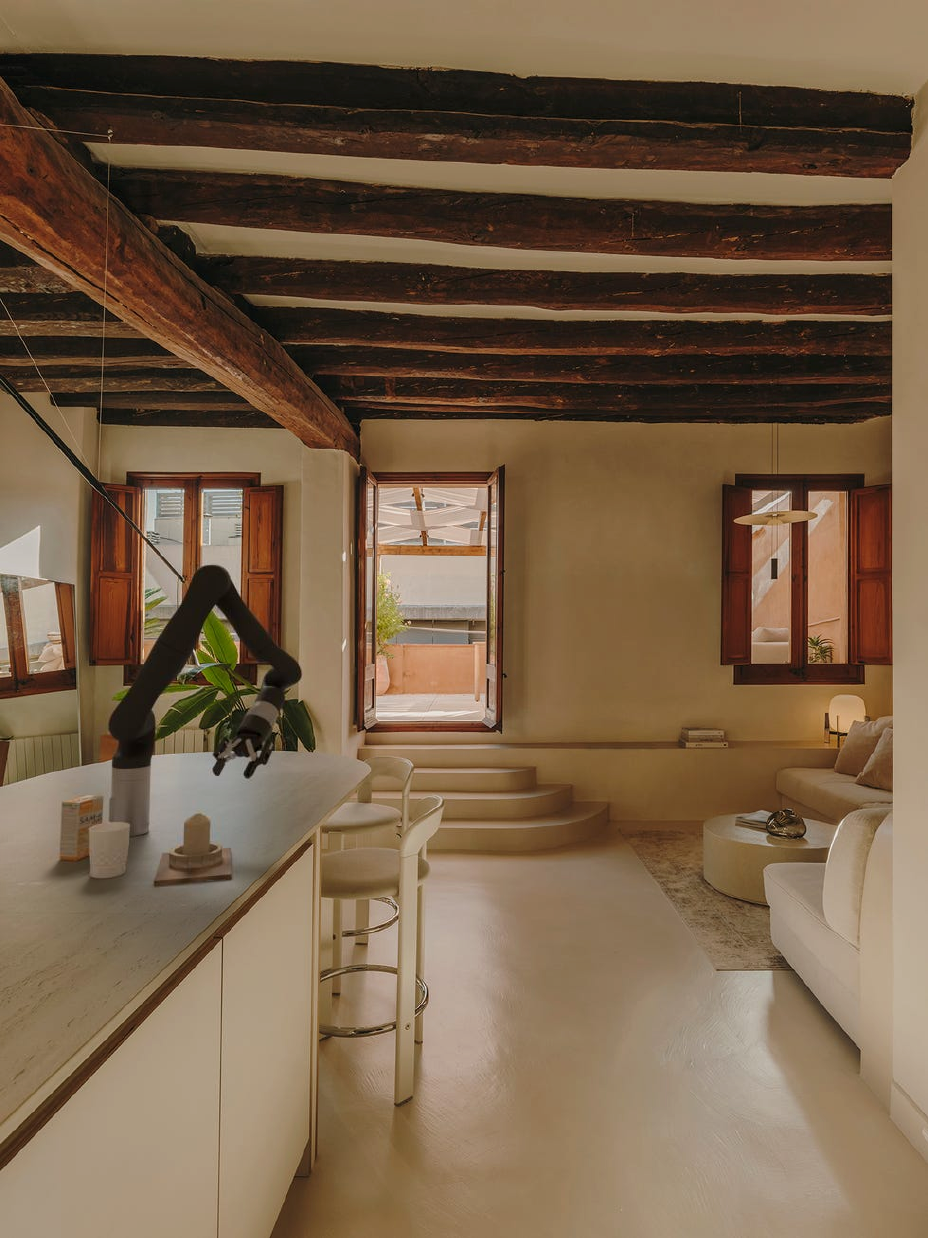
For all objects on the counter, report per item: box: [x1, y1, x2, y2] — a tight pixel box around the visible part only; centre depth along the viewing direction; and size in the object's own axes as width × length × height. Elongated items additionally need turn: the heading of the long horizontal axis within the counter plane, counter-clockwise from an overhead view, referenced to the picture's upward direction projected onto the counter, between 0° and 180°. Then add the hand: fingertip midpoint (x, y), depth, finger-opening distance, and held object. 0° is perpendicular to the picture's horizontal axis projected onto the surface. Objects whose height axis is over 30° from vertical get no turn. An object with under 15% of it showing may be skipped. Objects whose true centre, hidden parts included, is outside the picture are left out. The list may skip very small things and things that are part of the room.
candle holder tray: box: [153, 841, 232, 887], centre depth 154 cm, size 15×20×4 cm
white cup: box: [89, 821, 130, 879], centre depth 150 cm, size 8×8×10 cm
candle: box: [182, 812, 211, 855], centre depth 156 cm, size 6×6×10 cm
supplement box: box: [59, 794, 104, 862], centre depth 162 cm, size 8×5×13 cm, turn 168°
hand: (230, 775), depth 168 cm, fingers open, 8 cm apart
